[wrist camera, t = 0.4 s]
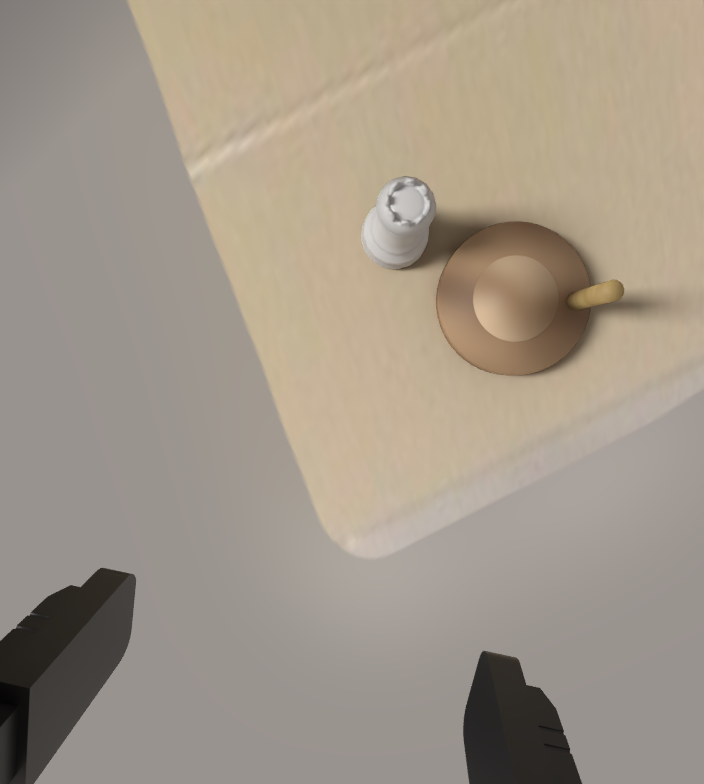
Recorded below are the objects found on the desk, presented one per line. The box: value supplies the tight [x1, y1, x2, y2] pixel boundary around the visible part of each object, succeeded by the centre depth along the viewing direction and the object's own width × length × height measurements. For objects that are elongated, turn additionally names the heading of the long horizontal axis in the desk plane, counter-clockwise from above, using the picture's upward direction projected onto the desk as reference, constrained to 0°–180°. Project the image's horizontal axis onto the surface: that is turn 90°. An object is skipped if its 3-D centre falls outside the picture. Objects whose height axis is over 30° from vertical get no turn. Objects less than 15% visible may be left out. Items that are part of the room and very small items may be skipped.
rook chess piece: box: [361, 176, 436, 269], centre depth 33 cm, size 4×4×8 cm
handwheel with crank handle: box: [436, 222, 624, 375], centre depth 34 cm, size 10×10×6 cm
